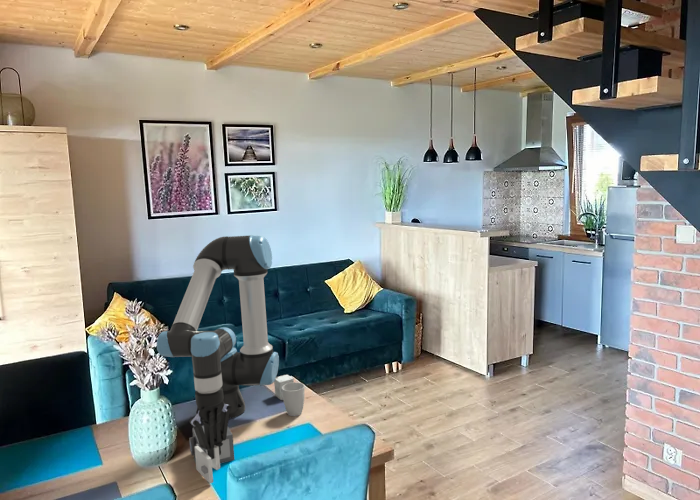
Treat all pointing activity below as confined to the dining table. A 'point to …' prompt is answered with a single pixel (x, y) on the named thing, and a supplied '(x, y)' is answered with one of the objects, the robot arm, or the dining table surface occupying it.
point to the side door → (203, 464)
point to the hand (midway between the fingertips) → (215, 467)
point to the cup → (293, 398)
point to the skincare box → (281, 384)
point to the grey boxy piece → (226, 448)
